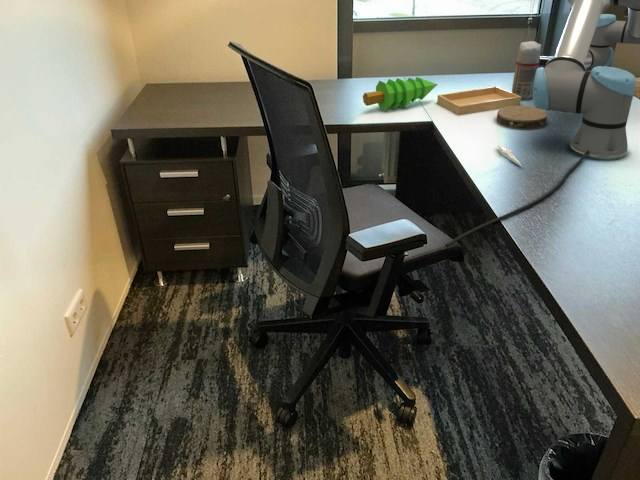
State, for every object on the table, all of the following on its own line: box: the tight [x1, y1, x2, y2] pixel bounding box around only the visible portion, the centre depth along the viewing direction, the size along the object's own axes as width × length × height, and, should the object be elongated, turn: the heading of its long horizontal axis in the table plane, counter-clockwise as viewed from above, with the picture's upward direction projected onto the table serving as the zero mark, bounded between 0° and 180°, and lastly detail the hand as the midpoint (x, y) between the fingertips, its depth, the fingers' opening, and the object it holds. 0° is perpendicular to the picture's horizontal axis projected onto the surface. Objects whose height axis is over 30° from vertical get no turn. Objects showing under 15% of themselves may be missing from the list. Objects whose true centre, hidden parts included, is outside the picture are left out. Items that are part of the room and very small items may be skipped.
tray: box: [436, 85, 522, 116], centre depth 206 cm, size 26×16×3 cm, turn 108°
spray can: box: [511, 40, 542, 100], centre depth 206 cm, size 8×8×20 cm
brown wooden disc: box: [496, 105, 548, 130], centre depth 187 cm, size 16×16×3 cm
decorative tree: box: [362, 76, 439, 112], centre depth 206 cm, size 11×12×30 cm
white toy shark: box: [497, 144, 523, 167], centre depth 161 cm, size 15×3×2 cm, turn 9°
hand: (527, 67), depth 206 cm, fingers open, 13 cm apart
